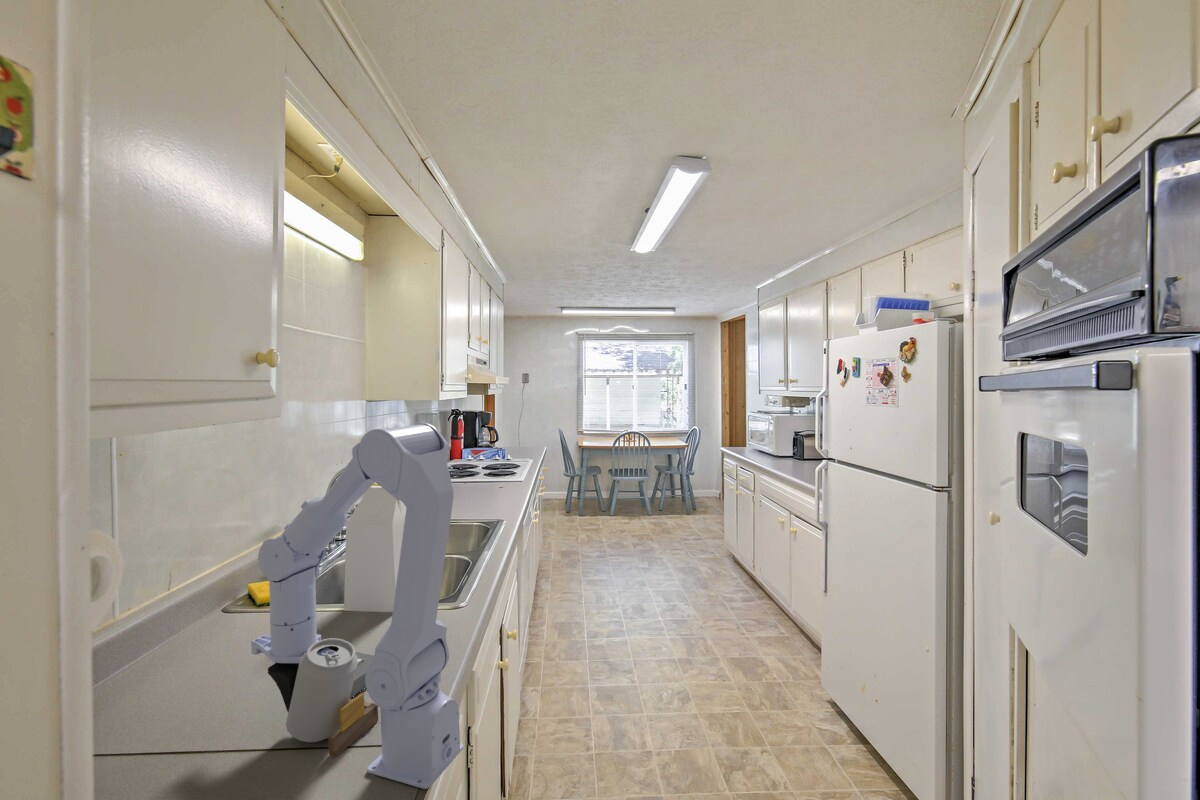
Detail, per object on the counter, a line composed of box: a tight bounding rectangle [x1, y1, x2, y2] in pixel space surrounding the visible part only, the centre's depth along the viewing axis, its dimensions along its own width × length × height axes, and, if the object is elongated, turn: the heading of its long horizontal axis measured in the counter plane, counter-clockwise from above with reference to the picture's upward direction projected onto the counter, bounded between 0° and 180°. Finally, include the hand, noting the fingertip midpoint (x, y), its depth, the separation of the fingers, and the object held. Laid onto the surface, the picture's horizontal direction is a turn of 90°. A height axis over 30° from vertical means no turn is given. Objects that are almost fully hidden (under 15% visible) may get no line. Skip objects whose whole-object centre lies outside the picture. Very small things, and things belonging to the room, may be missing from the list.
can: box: [285, 637, 358, 743], centre depth 76 cm, size 8×8×12 cm
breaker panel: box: [350, 651, 375, 699], centre depth 90 cm, size 10×8×3 cm
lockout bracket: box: [327, 692, 379, 758], centre depth 77 cm, size 10×8×6 cm
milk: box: [343, 485, 406, 613], centre depth 122 cm, size 12×12×26 cm
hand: (295, 708), depth 78 cm, fingers closed, pressing on can
